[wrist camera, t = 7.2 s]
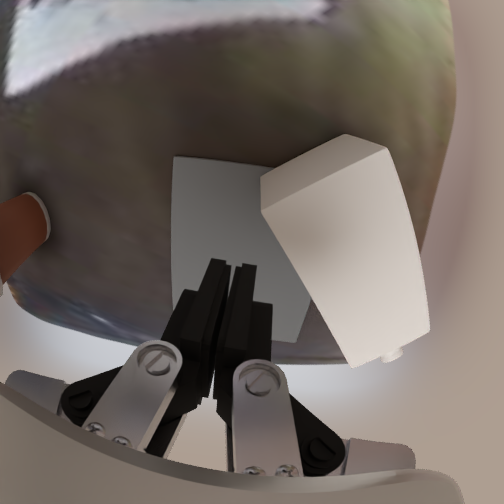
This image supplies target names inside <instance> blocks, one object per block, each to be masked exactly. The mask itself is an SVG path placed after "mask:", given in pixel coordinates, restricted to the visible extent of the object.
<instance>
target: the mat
mask: <svg viewBox="0 0 504 504" xmlns="http://www.w3.org/2000/svg"><path fill="white" fill-rule="evenodd" d="M273 169H275V168H271V167H265V166H259V165H252V164H246V163H238V162H231V161H223V160H215V159H206V158H196V157H186V156H174V159H173V176H172V202H171V271H172V298H173V311H174V309H175V307H176V305H177V302H178V300H179V298H180V296H181V294H182V292H183V290H184V289H189V290H194V291H198V289H199V287H200V284H201V282H202V279H203V277H204V275H205V272H206V270H207V267H208V265H209V262H210V260H211V258H215V259H221V260H226V264H227V265H231V275H230V284H229V292H230V288H231V284H232V280H233V276H234V272H235V268H236V266H240V267H242V263H246V264H252V265H257V271H256V279H255V287H254V295H253V301H258V302H264V303H271V304H273V317H272V340H277V341H285V342H293V343H296V340H297V337H298V335H299V332H300V329H301V327H302V324H303V321H304V318H305V315H306V313H307V310H308V307H309V304H310V301H311V298H312V297H311V296H310V294H309V292H308V291H307V289H306V287H305V285H304V284H303V282H302V280H301V278H300V277H299V275H298V273H297V272H296V270H295V268H294V267H293V265H292V263H291V262H290V260H289V258H288V256H287V255H286V253H285V251H284V250H283V248H282V246H281V245H280V243H279V241H278V240H277V238H276V236H275V235H274V233H273V232H272V230H271V228H270V227H269V225H268V223H267V222H266V220H265V218H264V217H263V215H262V213H261V184H260V177H261V176H262V175H264V174H266V173H267V172H269V171H271V170H273ZM228 296H229V293H228Z"/></svg>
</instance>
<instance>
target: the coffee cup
mask: <svg viewBox="0 0 504 504" xmlns="http://www.w3.org/2000/svg"><path fill="white" fill-rule="evenodd" d="M50 231H51V224H50V218H49V214H48V210H47V208H46V207H45V205H44V203H43V201H42V200H41V199H40V198H39V197H38V196H37V195H36V194H35V193H32V192H26V193H23V194H22V195H19V196H17V197H15V198H12V199H10V200H8V201H6V202H3V203H1V204H0V297H1V296H2V294H3V284H4V283H5V282H6V281H7V280H8V278H9V277H10V276H11V275H12V274H13V273H14V272H15V271H16V270H17V269H18V267H19V266H20V265H21V264H22V263H23V262H24V261H25V260H26V259H27V258H28V257H29V256H30V255H31V254H32V253H33V252H34V251H35V250H36V249H37V248H38V247H39V246H40V245H41V244H42V243H44V242H45V241H46V240H47V239H48V238H49V235H50Z"/></svg>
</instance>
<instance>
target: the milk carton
mask: <svg viewBox="0 0 504 504" xmlns="http://www.w3.org/2000/svg"><path fill="white" fill-rule="evenodd" d="M260 184H261V213H262V215H263V217H264V218H265V220H266V222H267V223H268V225H269V227H270V228H271V230H272V232H273V233H274V235H275V236H276V238H277V240H278V241H279V243H280V245H281V246H282V248H283V250H284V251H285V253H286V255H287V256H288V258H289V260H290V262H291V263H292V265H293V267H294V268H295V270H296V272H297V273H298V275H299V277H300V278H301V280H302V282H303V284H304V285H305V287H306V289H307V291H308V292H309V294H310V296H311V297H312V299H313V301H314V303H315V304H316V306H317V308H318V310H319V311H320V313H321V315H322V317H323V318H324V320H325V322H326V324H327V325H328V327H329V329H330V331H331V333H332V334H333V336H334V338H335V340H336V342H337V343H338V345H339V347H340V349H341V351H342V352H343V354H344V356H345V358H346V360H347V361H348V363H349V365H350V367H351V368H355V367H358V366H360V365H362V364H365V363H367V362H369V361H372V360H374V359H376V358H378V357H380V359H381V361H382V362H384V363H386V362H390V361H393V360H395V359H397V358H398V357H400V356H401V355H402V354H403V349H402V347H401V346H403V345H405V344H407V343H409V342H411V341H413V340H415V339H417V338H419V337H420V336H422V335H424V334H426V333H428V332H429V331H430V323H429V312H428V304H427V297H426V289H425V283H424V277H423V271H422V265H421V260H420V255H419V250H418V246H417V241H416V237H415V233H414V229H413V225H412V221H411V217H410V213H409V210H408V206H407V203H406V199H405V196H404V193H403V190H402V186H401V183H400V180H399V177H398V174H397V171H396V169H395V166H394V163H393V160H392V158H391V155H390V152H389V150H388V149H387V148H386V147H384V146H381V145H378V144H376V143H373V142H370V141H367V140H364V139H361V138H358V137H354V136H351V135H348V134H343V135H341V136H338V137H336V138H334V139H332V140H330V141H328V142H326V143H324V144H322V145H320V146H318V147H316V148H314V149H312V150H310V151H308V152H306V153H304V154H302V155H300V156H298V157H296V158H294V159H292V160H290V161H288V162H286V163H284V164H282V165H281V166H279V167H277V168H275V169H273V170H271V171H269V172H267V173H266V174H264V175H262V176H261V177H260Z"/></svg>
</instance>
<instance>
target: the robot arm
mask: <svg viewBox="0 0 504 504" xmlns="http://www.w3.org/2000/svg"><path fill="white" fill-rule="evenodd" d="M256 271H257V265H252V264H246V263H242V267H240V266H236V268H235V272H234V276H233V280H232V284H231V288H230V292H229V284H230V275H231V265H227V264H226V260H221V259H215V258H211V260H210V262H209V265H208V267H207V270H206V272H205V275H204V277H203V279H202V282H201V284H200V287H199V289H198V291H194V290H189V289H184V290H183V292H182V294H181V296H180V298H179V300H178V302H177V305H176V307H175V309H174V311H173V313H172V315H171V318H170V320H169V322H168V324H167V327H166V329H165V331H164V333H163V335H162V338H161V340H152V341H148V342H145V343H143V344H141V345H139V346H138V347H137V348H136V349H135V350H134V352H133V353H132V355H131V356H130V357H129V359H128V360H127V361H126V363H125V364H124V365H123V366H120V367H117V368H115V369H112V370H109V371H106V372H104V373H101V374H98V375H95V376H92V377H89V378H86V379H83V380H80V381H77V382H74V383H73V384H66V382H65V381H63V380H59V379H54V378H50V377H46V376H42V375H38V374H35V373H31V372H27V371H24V370H17V371H14V372H12V373H11V374H10V375H9V376H8V378H7V380H6V382H5V384H3V383H1V382H0V504H465V503H464V499H463V496H462V493H461V490H460V488H459V486H458V484H457V483H456V481H455V480H454V479H453V478H451V477H450V476H448V475H446V474H443V473H441V472H437V471H432V470H425V469H415V464H416V460H415V454H414V453H413V451H412V449H410V448H409V447H408V446H406V445H403V444H394V443H385V442H375V441H368V440H361V439H355V438H350V439H349V440H346V439H341V438H340V437H339V436H338V435H337V434H336V433H335V432H334V431H332V430H331V429H330V428H329V427H327V426H326V425H325V424H324V423H322V421H320V420H319V419H318V418H317V417H316V416H314V415H313V414H312V413H311V412H310V411H309V410H308V409H306V408H305V407H304V406H303V405H302V404H301V403H300V402H298V401H297V400H296V399H295V398H294V397H293V396H292V395H291V394H290V393H289V390H288V385H287V379H286V377H285V374H284V372H283V371H282V370H281V369H280V368H279V367H278V366H277V365H275V364H274V363H272V362H271V343H272V317H273V304H271V303H264V302H258V301H253V295H254V287H255V279H256ZM228 293H229V296H228ZM214 370H215V373H214ZM213 374H214V389H213V399H217V410H216V412H217V413H218V415H219V416H220V417H221V418H222V419H223V420H224V421H225V423H226V424H225V433H226V434H225V436H226V468H227V469H226V472H225V471H219V470H213V469H207V468H202V467H197V466H192V465H188V464H183V463H179V462H175V461H171V460H167V457H168V455H169V453H170V451H171V449H172V446H173V445H174V442H175V440H176V438H177V436H178V434H179V432H180V429H181V427H182V425H183V423H184V421H185V418H186V416H187V413H188V412H190V411H192V410H194V409H196V408H197V405H198V404H199V405H201V401H202V397H206V398H208V396H209V392H210V388H211V383H212V378H213Z"/></svg>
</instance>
